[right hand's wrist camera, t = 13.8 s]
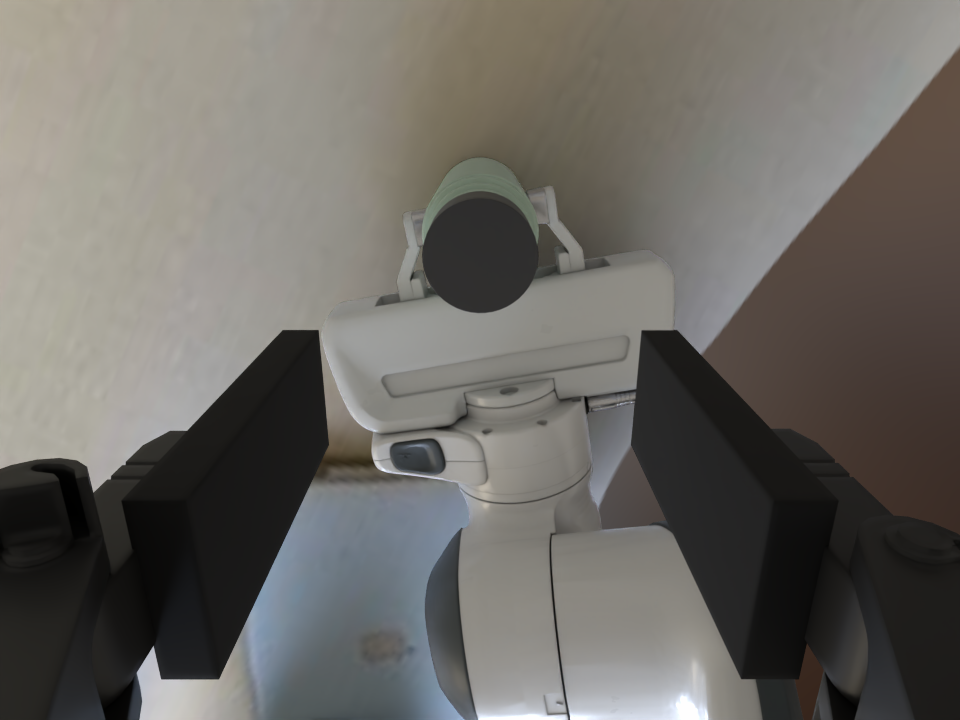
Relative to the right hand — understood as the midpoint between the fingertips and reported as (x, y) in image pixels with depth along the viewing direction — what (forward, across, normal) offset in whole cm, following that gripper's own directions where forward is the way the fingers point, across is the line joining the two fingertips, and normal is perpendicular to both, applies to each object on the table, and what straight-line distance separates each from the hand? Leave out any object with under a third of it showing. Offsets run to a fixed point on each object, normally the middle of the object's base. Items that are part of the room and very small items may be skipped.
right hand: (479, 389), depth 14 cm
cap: (+12, 0, 0) cm, 12 cm away
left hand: (+23, 0, -2) cm, 23 cm away
